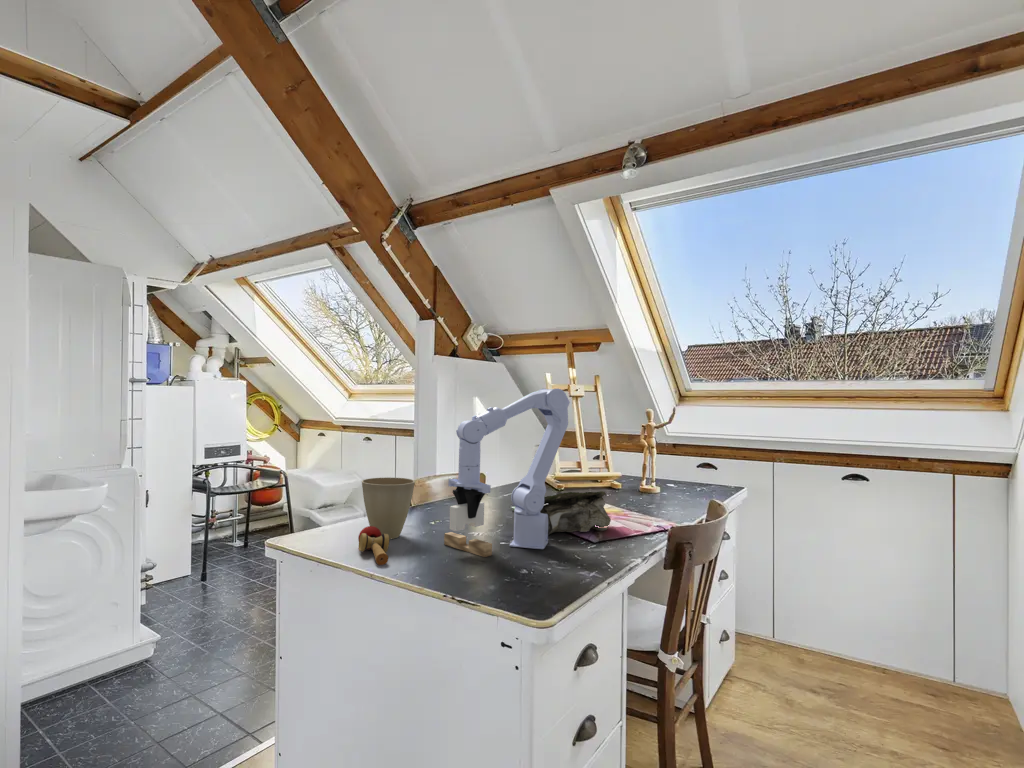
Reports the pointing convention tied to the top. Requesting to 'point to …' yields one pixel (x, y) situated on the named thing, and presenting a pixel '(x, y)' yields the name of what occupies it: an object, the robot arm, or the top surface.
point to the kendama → (374, 543)
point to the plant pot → (387, 503)
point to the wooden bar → (473, 546)
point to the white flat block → (465, 517)
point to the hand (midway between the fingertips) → (468, 516)
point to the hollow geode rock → (575, 512)
